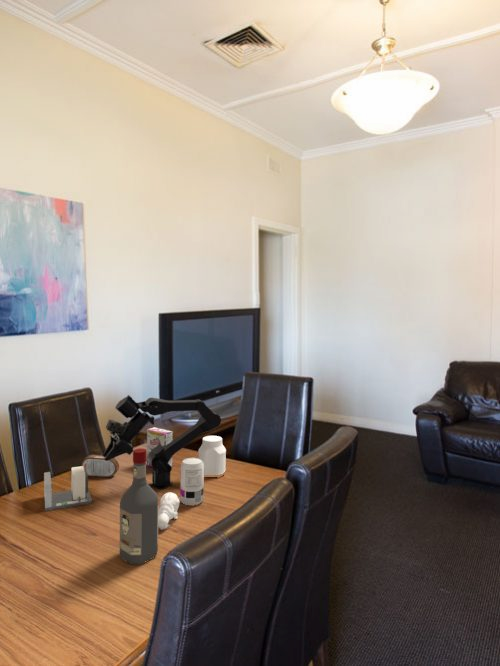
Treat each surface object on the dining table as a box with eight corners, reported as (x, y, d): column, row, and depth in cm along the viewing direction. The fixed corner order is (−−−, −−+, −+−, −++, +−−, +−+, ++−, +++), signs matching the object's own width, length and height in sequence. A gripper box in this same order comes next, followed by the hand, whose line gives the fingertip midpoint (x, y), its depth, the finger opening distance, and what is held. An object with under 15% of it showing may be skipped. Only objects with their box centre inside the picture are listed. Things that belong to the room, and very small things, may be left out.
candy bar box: (145, 466, 194) (146, 429, 193) (153, 463, 199) (154, 426, 198) (164, 471, 188) (165, 433, 187) (172, 468, 193) (173, 430, 192)
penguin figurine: (180, 490, 149) (170, 510, 137) (181, 514, 150) (170, 535, 138) (162, 489, 150) (150, 508, 138) (162, 512, 151) (150, 533, 139)
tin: (119, 475, 183) (119, 455, 183) (116, 478, 180) (116, 458, 179) (84, 473, 185) (84, 453, 184) (80, 476, 181) (80, 456, 181)
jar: (196, 477, 183) (197, 441, 182) (199, 469, 192) (200, 434, 192) (224, 478, 183) (225, 442, 182) (226, 469, 192) (226, 435, 191)
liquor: (142, 542, 132) (143, 443, 130) (162, 554, 126) (163, 450, 124) (115, 555, 125) (115, 450, 123) (135, 568, 119) (136, 458, 117)
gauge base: (88, 490, 168) (88, 466, 168) (91, 503, 157) (91, 478, 157) (44, 496, 162) (44, 472, 161) (45, 511, 151) (44, 485, 150)
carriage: (85, 489, 166) (85, 465, 165) (89, 500, 156) (89, 475, 156) (71, 491, 164) (71, 467, 163) (73, 503, 154) (73, 477, 154)
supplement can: (175, 503, 158) (176, 462, 158) (189, 495, 166) (189, 455, 165) (194, 509, 155) (195, 466, 154) (207, 500, 162) (208, 459, 161)
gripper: (115, 406, 174) (85, 437, 170) (124, 418, 157) (91, 452, 153) (135, 424, 178) (106, 455, 174) (146, 437, 161) (114, 472, 157)
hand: (104, 458), depth 164 cm, fingers open, 4 cm apart
